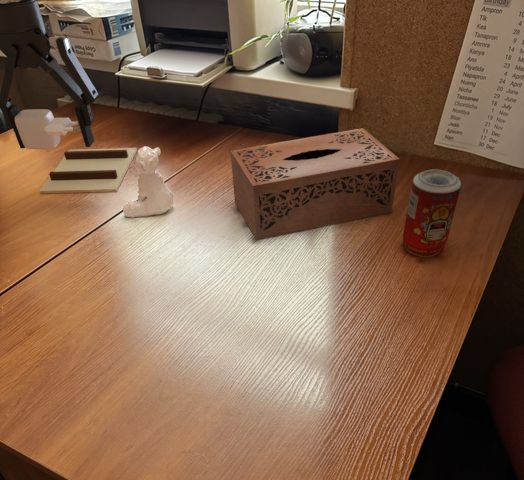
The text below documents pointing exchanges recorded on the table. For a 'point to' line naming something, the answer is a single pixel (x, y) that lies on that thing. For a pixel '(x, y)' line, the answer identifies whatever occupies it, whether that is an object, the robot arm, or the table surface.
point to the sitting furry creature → (149, 187)
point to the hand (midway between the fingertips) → (57, 144)
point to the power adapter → (42, 128)
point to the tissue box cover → (313, 182)
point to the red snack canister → (430, 211)
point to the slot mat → (90, 171)
